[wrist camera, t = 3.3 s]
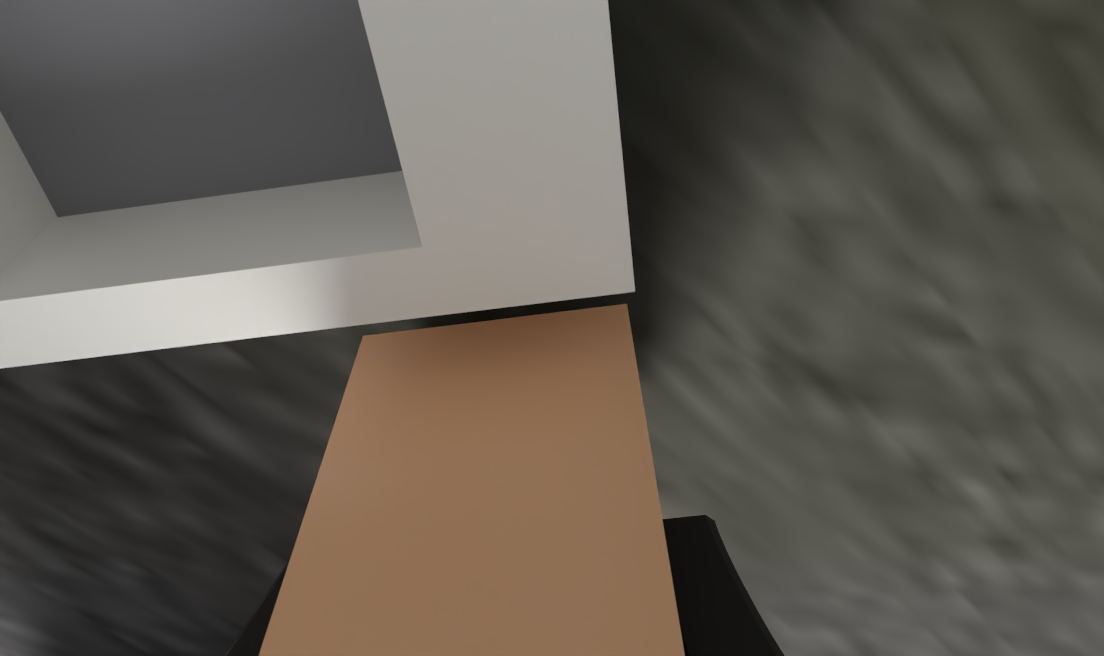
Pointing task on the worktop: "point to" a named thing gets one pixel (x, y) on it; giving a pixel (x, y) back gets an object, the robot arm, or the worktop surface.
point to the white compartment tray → (299, 167)
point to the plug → (485, 501)
